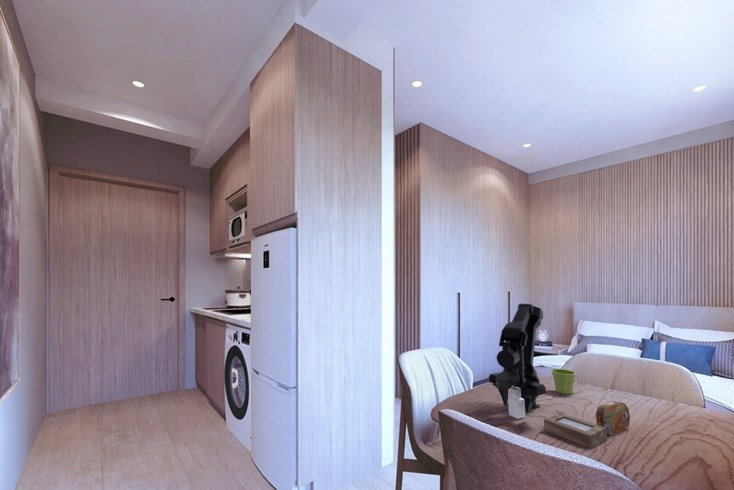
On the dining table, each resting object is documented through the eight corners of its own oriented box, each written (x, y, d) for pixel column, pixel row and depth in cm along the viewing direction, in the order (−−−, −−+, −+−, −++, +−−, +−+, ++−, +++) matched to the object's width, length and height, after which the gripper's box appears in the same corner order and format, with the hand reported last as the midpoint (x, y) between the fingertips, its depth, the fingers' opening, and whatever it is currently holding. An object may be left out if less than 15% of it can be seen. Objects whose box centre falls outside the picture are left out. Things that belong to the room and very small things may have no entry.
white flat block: (564, 421, 108) (564, 418, 108) (593, 431, 101) (593, 427, 101) (556, 424, 105) (556, 421, 105) (585, 435, 98) (585, 431, 98)
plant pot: (556, 395, 140) (555, 373, 141) (548, 388, 149) (547, 368, 150) (581, 396, 138) (579, 375, 139) (571, 389, 147) (570, 369, 148)
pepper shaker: (508, 415, 118) (507, 387, 119) (516, 413, 119) (515, 386, 120) (517, 419, 114) (516, 390, 115) (525, 418, 115) (524, 389, 116)
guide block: (560, 423, 111) (560, 413, 111) (607, 439, 100) (606, 427, 100) (544, 430, 105) (543, 419, 106) (591, 448, 94) (590, 435, 95)
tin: (605, 438, 101) (603, 408, 102) (594, 433, 104) (593, 405, 105) (631, 428, 108) (629, 401, 109) (620, 424, 111) (618, 398, 112)
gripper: (478, 360, 122) (479, 405, 120) (526, 371, 106) (528, 423, 105) (497, 356, 128) (498, 399, 126) (545, 367, 112) (548, 416, 111)
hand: (516, 409), depth 117 cm, fingers open, 8 cm apart
